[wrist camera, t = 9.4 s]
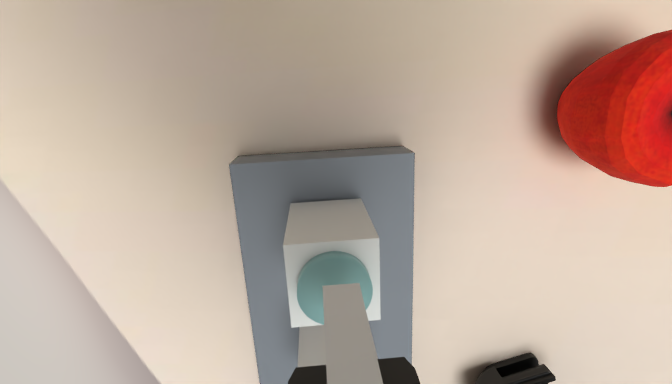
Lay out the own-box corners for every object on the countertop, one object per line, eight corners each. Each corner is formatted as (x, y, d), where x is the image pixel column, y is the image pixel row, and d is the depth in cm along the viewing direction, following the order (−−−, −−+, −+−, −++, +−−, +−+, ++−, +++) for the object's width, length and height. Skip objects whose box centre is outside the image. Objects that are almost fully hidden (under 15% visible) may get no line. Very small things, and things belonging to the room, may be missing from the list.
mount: (238, 156, 25) (206, 184, 17) (402, 145, 25) (442, 169, 18) (274, 431, 32) (263, 537, 25) (401, 418, 33) (429, 517, 25)
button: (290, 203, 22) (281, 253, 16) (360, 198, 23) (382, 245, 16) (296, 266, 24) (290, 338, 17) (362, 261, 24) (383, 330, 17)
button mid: (300, 309, 25) (296, 393, 18) (364, 303, 25) (384, 384, 18) (305, 361, 26) (303, 459, 19) (365, 356, 26) (385, 450, 19)
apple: (659, 127, 26) (797, 141, 19) (555, 187, 27) (648, 223, 20) (625, 17, 24) (767, -17, 17) (512, 86, 25) (599, 84, 17)
